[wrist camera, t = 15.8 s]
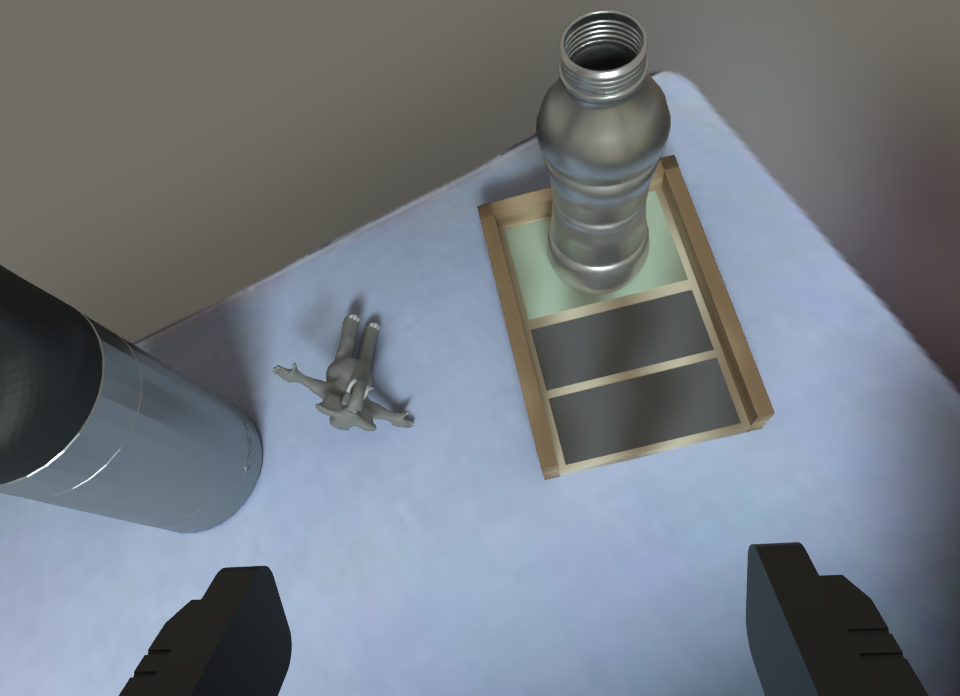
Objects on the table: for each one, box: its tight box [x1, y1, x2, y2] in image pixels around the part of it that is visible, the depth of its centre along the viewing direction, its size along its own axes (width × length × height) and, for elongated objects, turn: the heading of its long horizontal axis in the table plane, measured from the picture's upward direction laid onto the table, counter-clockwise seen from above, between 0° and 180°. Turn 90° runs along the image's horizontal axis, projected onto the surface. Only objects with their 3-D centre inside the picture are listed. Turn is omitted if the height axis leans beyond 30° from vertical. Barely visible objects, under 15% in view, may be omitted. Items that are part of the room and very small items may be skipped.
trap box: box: [477, 155, 775, 480], centre depth 47 cm, size 14×19×4 cm
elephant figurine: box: [273, 314, 414, 431], centre depth 47 cm, size 10×6×9 cm
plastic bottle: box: [536, 9, 671, 294], centre depth 39 cm, size 6×7×20 cm
